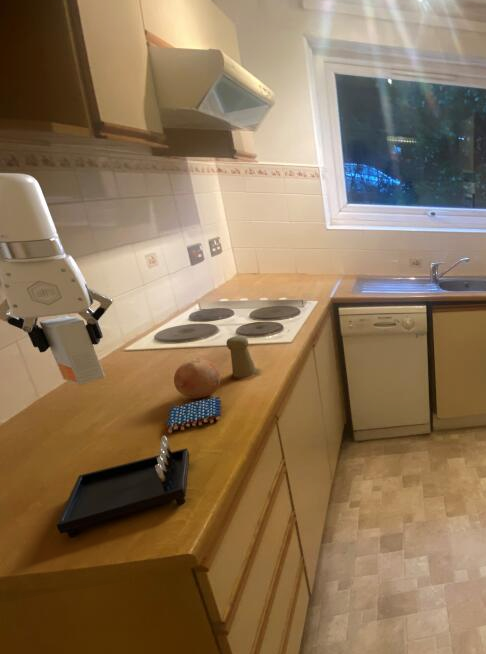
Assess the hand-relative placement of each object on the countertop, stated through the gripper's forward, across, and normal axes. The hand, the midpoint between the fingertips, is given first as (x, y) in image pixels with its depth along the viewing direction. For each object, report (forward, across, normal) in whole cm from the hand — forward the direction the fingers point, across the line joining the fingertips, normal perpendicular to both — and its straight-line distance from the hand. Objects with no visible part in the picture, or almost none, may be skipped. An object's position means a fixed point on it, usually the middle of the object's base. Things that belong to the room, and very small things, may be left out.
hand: (71, 345), depth 82 cm
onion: (+23, +16, +18) cm, 33 cm away
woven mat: (+23, +14, +6) cm, 28 cm away
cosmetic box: (+7, 0, 0) cm, 7 cm away
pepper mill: (+23, +26, +28) cm, 45 cm away
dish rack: (+23, +6, -21) cm, 32 cm away
